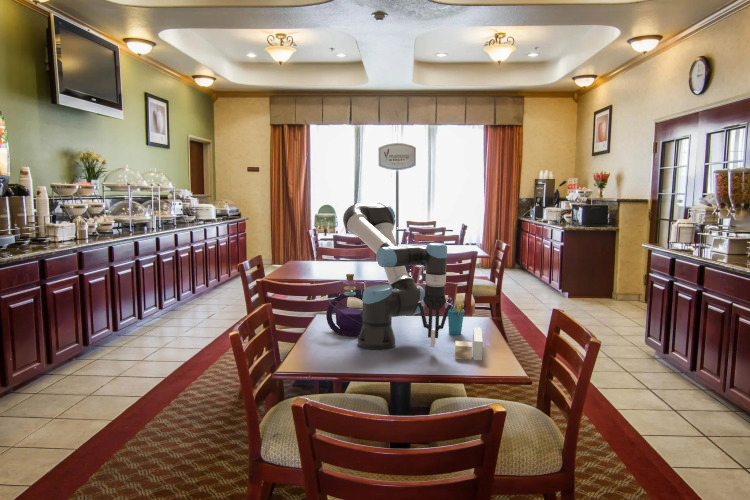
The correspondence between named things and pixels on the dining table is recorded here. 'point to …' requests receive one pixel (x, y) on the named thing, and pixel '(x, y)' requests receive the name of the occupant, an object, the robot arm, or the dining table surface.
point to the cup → (455, 319)
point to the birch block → (463, 350)
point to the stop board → (477, 343)
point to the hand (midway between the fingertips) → (432, 345)
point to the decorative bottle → (346, 312)
